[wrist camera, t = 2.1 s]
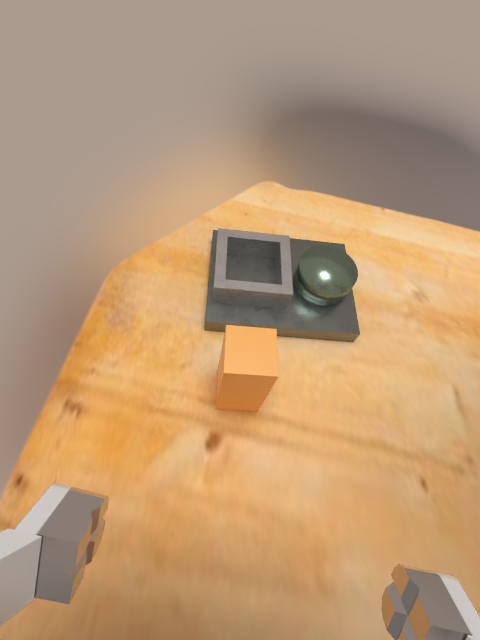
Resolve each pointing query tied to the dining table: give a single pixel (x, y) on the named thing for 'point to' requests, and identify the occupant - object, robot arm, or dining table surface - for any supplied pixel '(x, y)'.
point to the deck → (281, 286)
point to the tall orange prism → (246, 367)
